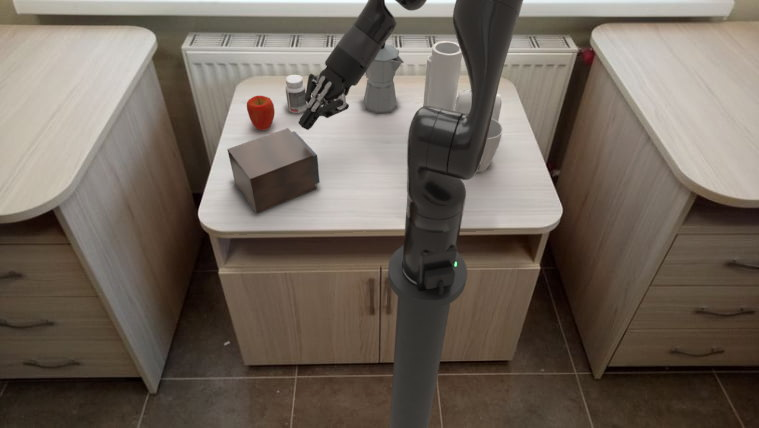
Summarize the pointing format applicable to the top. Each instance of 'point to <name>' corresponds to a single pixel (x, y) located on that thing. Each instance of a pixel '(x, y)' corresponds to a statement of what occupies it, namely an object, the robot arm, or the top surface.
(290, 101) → the pill bottle
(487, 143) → the cup
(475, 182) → the top surface
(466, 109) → the photo printer
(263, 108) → the apple
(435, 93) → the vase
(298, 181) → the cabinet
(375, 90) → the coffee maker
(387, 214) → the top surface
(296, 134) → the drawer
